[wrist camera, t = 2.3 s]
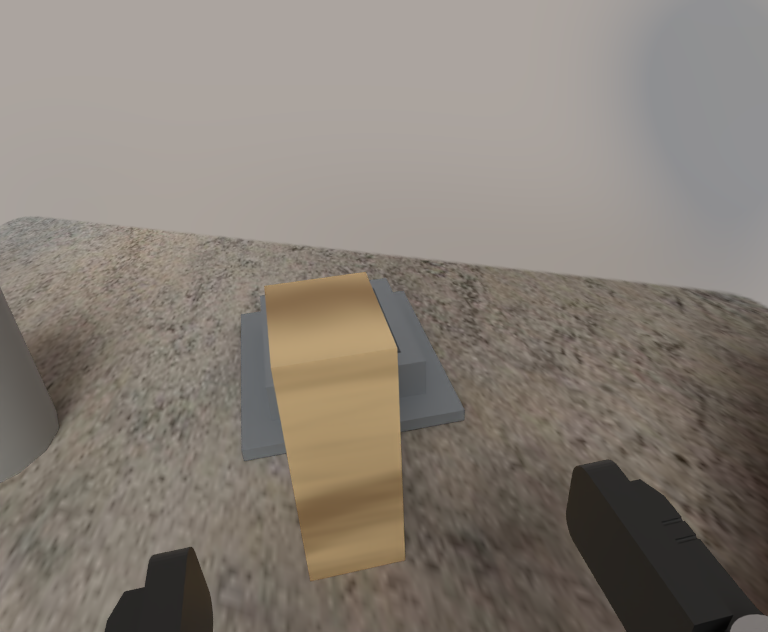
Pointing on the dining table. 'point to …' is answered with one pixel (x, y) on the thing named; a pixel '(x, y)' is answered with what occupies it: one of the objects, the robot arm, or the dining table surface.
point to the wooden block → (339, 420)
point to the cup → (21, 401)
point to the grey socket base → (415, 374)
